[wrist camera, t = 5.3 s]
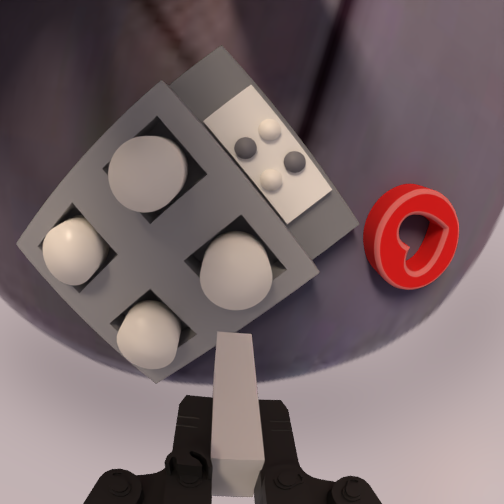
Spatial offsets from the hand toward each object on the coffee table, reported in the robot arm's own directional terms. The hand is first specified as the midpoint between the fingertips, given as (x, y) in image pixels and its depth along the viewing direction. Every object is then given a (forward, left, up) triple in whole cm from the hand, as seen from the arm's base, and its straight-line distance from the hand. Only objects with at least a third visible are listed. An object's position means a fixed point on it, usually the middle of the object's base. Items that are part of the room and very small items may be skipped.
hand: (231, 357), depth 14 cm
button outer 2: (0, 0, -11) cm, 11 cm away
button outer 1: (0, -9, -11) cm, 14 cm away
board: (-5, -1, -15) cm, 15 cm away
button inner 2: (-9, 0, -11) cm, 14 cm away
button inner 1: (-9, -9, -12) cm, 17 cm away
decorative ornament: (+9, +14, -15) cm, 23 cm away
